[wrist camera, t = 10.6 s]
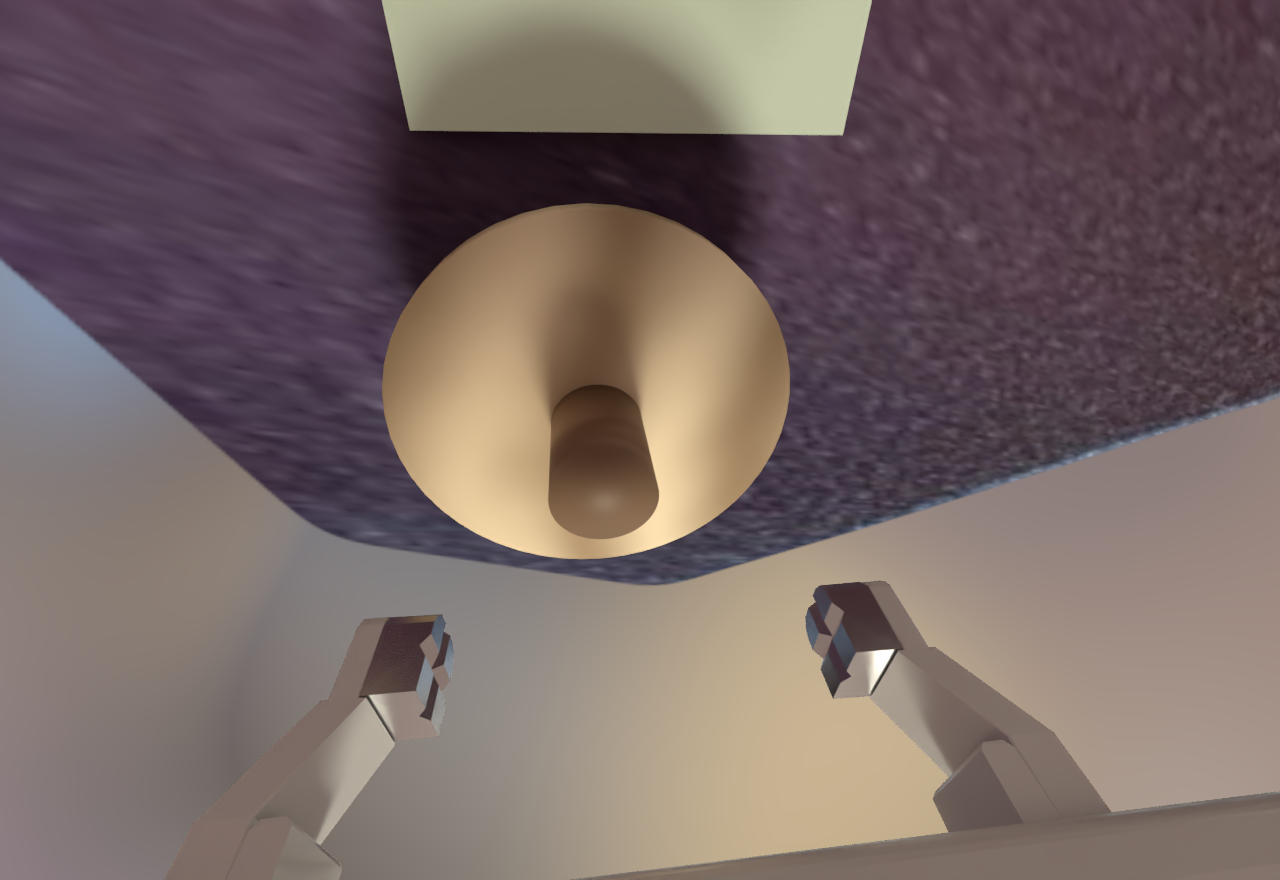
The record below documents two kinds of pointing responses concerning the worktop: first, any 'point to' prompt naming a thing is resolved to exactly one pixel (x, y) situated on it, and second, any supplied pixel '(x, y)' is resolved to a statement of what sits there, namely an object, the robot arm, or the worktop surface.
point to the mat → (627, 65)
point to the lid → (585, 382)
